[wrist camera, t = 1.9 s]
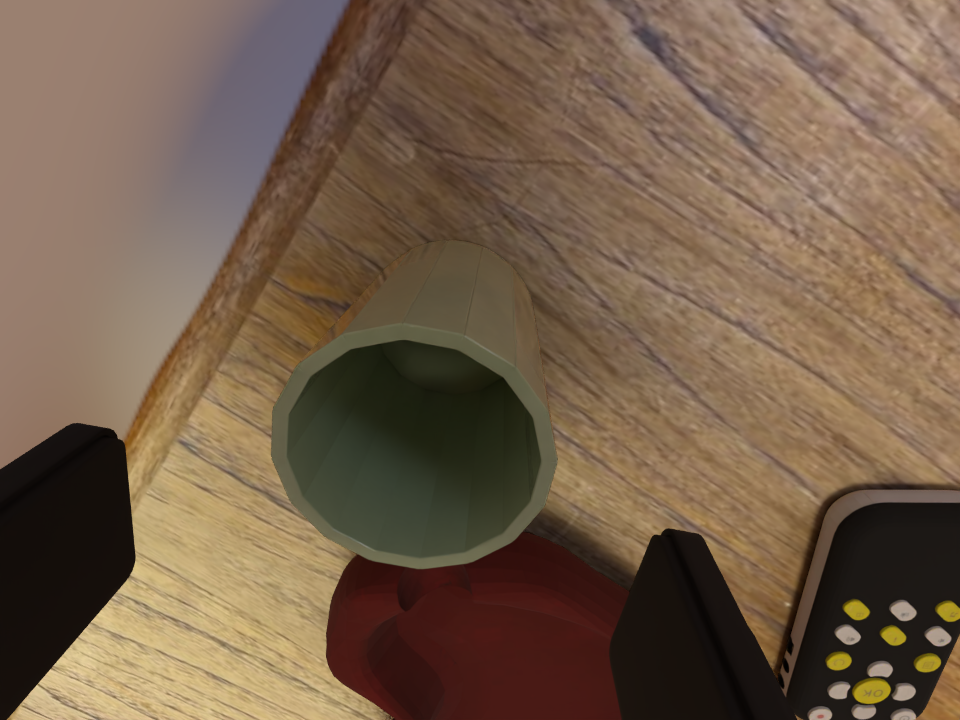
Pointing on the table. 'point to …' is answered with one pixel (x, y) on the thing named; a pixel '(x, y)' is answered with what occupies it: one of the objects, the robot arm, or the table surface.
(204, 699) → the table surface
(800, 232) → the table surface
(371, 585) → the ashtray
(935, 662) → the remote control
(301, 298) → the table surface
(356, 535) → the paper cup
